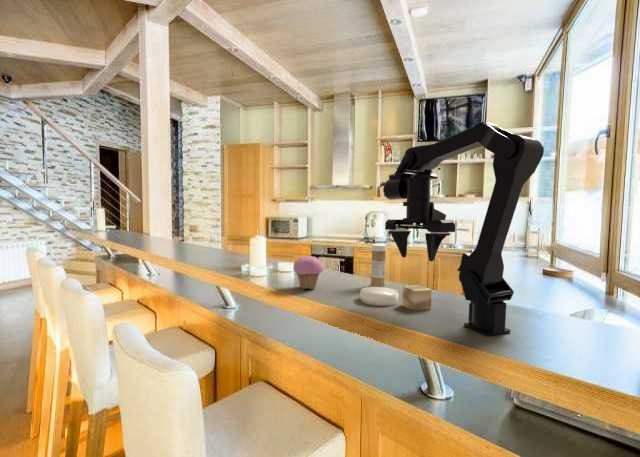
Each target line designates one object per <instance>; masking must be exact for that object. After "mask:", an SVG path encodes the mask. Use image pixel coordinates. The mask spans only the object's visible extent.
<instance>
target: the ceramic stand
mask: <svg viewBox="0 0 640 457" xmlns="http://www.w3.org/2000/svg"><path fill="white" fill-rule="evenodd" d="M360 301H361V302H362V303H364V304H367V305H370V306H371V305H372V306H379V307H381V306H382V307H385V306H386V307H389V306H395V305H398V303H399V291H398V290H397V289H394V288H390V287H371V286H368V287H363V288H361V289H360Z"/></svg>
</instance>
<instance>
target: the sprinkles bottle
mask: <svg viewBox="0 0 640 457" xmlns="http://www.w3.org/2000/svg"><path fill="white" fill-rule="evenodd" d="M386 253H387V244H381V243H373V244H371V267H370V287H384V288H386V287H385V286H386V285H385V280H386V278H385V277H386Z"/></svg>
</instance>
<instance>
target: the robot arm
mask: <svg viewBox="0 0 640 457" xmlns="http://www.w3.org/2000/svg"><path fill="white" fill-rule="evenodd" d="M480 147H484V148H485V150H487V151H489V152H491V153H492V154H493V159H492V160H493V161H492V168H493V172H494V173H493V175H494V177H495V178H494V179H495V183H494V186H493V189H492V191H491V196H490V199H489V203H488V205H487V209H486V214H485V216H484V220H483V222H482V223H483V224H482V226H481V230H480V232H479V236H478V240H477V243H476V246H475V248H474V249H473V251H472V252H465V253H463V254H462V255H461V261H460V265H459V267H458V268H457V270H456V271H457V272H459V273H458V281H459V282H460V284H461V287H462V291H463V295H464V298H465V300H466V301H469V303H468V320H467V321H468V322H464V323H463V326H465V327H466V328H469V329H472V330H473V331H476V332H477V333H480V334H482V335H485V336H496V335H501V334H507V333H511V329H510V328H508V327H506V321H507V320H506V318H507V303H506V301H511V300H512V298H513V296H514V294H515V291H514V290H513V289H512V287H511V286H510V284H508V282H507V281H506V280H505V278H504V277H503V276H504V268H505V265H504V260H503V256H502V253H503V250H504V247H505V242H506V240H507V236H508V233H509V230H510V227H511V224H512V221H513V218H514V215H515V211H516V209H517V205H518V203H519V202H518V201H519V199H520V195H521V192H522V190H523V187H524V185H525V184H526V183H527V181H528V180H529V179H530V178H531V177H532V175H534V173H535V172H536V170H537V169H538V166H539V164H540V162H541V161H542V159H543V157H544V152H545V149H544V148H545V147H544V146H543V144H542V143H541V142H540V140H538V139H536V138H533V137H530V136H525V135H520V134H516V133H512V132H510V131H508V130H506V129H503V128H501V127H499V125H497V124H494V123H491V122H487V121H480V122H477V123H475V124H474V125H473V126H471V127H469V128H466V129H464V130H463V131H460V132H458V133H456V134H453V135H450V136H448V137H446V138H444V139H441V140H439V141H436V142H434V143H432V144H424V145H417V146H413V147H408V149H406V150H405V151H404V154H403V157H402V159H401V160H400V163H399V165H398V166H397V168H396V171H395V173H394V174H390V175H389V176H388V177H389V178H388V180H386V181H385V183H384V185H383V188H382V191H383V195H384V196H385V197H386V199H388V200H390V201H391V200H406V201H403V202H402V206H403V207H406V214H405V215H406V216H405V217H402V219H387V220H386V221H385V222H384V223H385V224H384V226H385V227H384V229H385V230H386V231H387V230H388V234H390V235H391V237H392V239H393V241H394V242H395V245H396V247H397V249H398V251H399V253H400V256H401V258H406V257H407V255H408V254H407V253H408V252H407V251H408V237H409V236H410V234H411V232H412V231H411V230H410V229H413V230H415V229H416V230H426V231H427V232H426V233H424V236H425V242H426V250H427V257H428V260H429V262H433V261H434V262H435V258H436V255H437V253H438V251H439V248H440V246H441V243H442V242H443V241H444V239H445V238H446V237H448V236H449V237H450V236H451V234H452V233H456V224H455V222H454V221H453V220H452V219H447V214H445V213H444V212H442V211H440V210H438V209H436V208H435V204H434V202H433V201H431V180H437V179H438V175H437V174H435V173H434V172H433V170H434V169H436V168H437V167H439V165H441V163H442V162H444V161H445V160H448V159H450V158H453V157H455V156H458V155H461V154H463V153H467V152H469V151H472V150H474V149H477V148H480Z"/></svg>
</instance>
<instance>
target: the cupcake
mask: <svg viewBox="0 0 640 457" xmlns="http://www.w3.org/2000/svg"><path fill="white" fill-rule="evenodd" d="M292 269H293V272H294V273H295V274H296V275H297V277H298V278H297V279H298V284H299V287H300V288H301V290H307V289H308V290H315V288H316V287H317V283H318V280H319V275H320V274H321V273H322V272H323V270H324V265H323V263H322V262H321V261H320V260H319V259H318V257H316V256H311V255H307V256H301V257H299V258H298V259H297V260H295V261H294V263H293V268H292Z"/></svg>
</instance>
